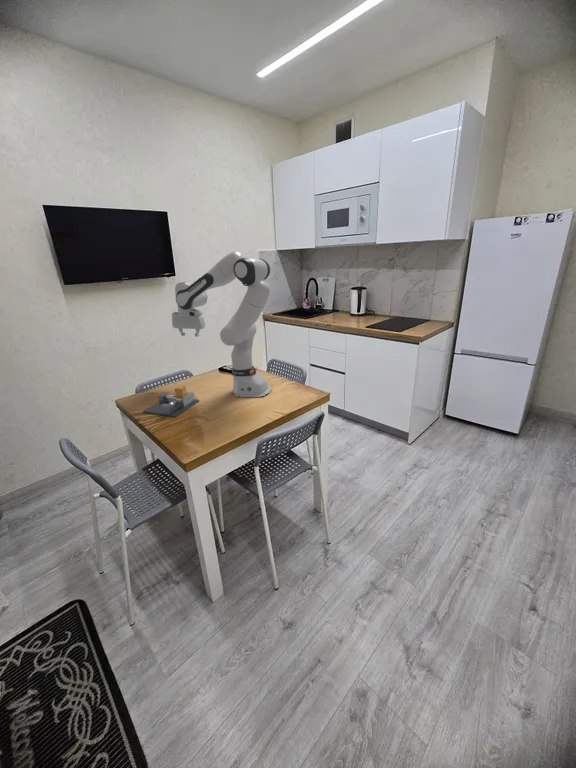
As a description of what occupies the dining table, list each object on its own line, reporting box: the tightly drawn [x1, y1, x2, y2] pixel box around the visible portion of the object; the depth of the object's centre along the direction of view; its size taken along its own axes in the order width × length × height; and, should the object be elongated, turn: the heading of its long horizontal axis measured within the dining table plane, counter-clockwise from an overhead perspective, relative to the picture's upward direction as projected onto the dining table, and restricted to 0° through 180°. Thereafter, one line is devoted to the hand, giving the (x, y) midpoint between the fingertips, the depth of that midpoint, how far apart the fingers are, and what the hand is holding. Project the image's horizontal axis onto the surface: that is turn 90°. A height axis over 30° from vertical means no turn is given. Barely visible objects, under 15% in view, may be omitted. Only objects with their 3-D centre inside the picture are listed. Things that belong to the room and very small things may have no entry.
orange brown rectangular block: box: [173, 385, 187, 398], centre depth 163 cm, size 4×4×9 cm
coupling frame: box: [142, 391, 200, 418], centre depth 162 cm, size 20×19×6 cm
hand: (190, 336), depth 184 cm, fingers open, 8 cm apart
